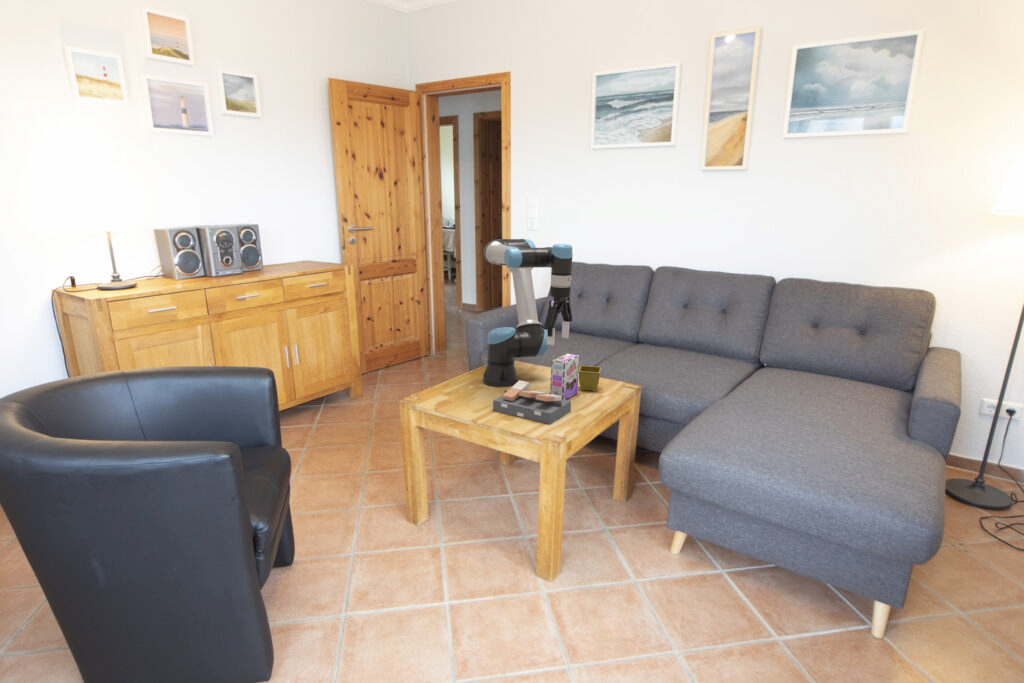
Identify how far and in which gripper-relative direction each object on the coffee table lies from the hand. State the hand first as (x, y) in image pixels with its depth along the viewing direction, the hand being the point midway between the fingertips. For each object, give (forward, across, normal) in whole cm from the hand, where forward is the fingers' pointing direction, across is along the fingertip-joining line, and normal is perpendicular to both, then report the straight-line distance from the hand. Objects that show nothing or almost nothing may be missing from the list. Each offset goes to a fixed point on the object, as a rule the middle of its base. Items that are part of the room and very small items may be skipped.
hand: (558, 341), depth 214 cm
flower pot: (+24, +21, -6) cm, 32 cm away
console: (+24, -16, +2) cm, 29 cm away
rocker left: (+17, -15, +9) cm, 25 cm away
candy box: (+24, +6, -1) cm, 25 cm away
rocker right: (+17, -16, -5) cm, 24 cm away
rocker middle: (+17, -16, +2) cm, 23 cm away
